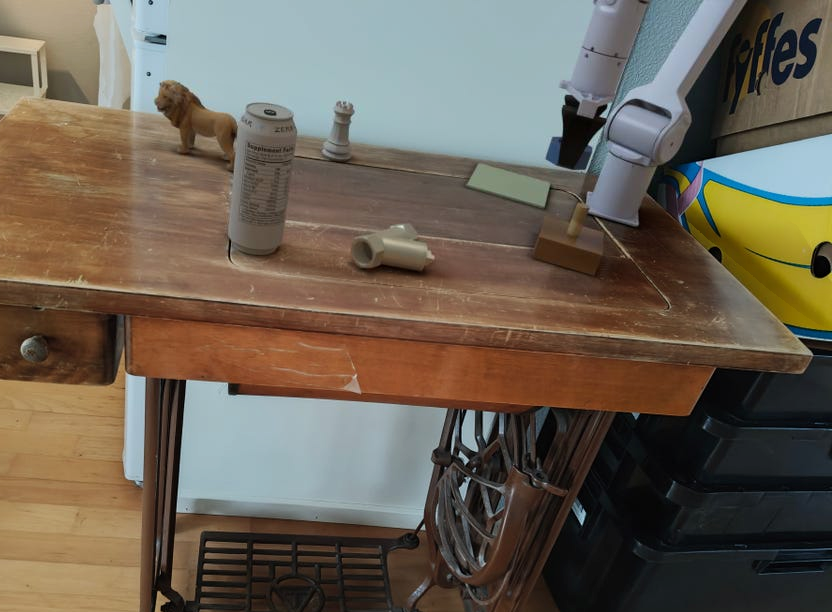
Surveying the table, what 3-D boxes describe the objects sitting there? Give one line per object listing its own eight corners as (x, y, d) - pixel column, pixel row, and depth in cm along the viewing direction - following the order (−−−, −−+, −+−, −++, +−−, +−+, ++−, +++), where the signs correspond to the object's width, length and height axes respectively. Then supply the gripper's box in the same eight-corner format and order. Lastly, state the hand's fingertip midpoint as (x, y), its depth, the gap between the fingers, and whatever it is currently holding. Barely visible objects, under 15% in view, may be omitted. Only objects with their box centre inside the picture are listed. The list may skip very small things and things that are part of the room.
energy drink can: (279, 235, 84) (296, 105, 76) (283, 259, 80) (302, 123, 71) (226, 230, 83) (238, 97, 75) (227, 254, 78) (240, 115, 70)
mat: (478, 165, 119) (478, 162, 119) (549, 185, 118) (550, 182, 117) (466, 187, 110) (466, 184, 109) (543, 209, 108) (544, 206, 108)
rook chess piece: (347, 164, 108) (357, 110, 104) (318, 157, 108) (327, 103, 104) (352, 155, 112) (362, 103, 108) (324, 148, 112) (332, 96, 108)
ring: (547, 151, 99) (553, 133, 98) (586, 162, 98) (592, 144, 97) (544, 162, 95) (550, 143, 93) (585, 173, 94) (592, 154, 92)
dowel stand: (537, 235, 99) (554, 186, 95) (595, 252, 98) (615, 204, 94) (531, 257, 92) (550, 206, 88) (594, 276, 91) (615, 225, 87)
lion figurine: (146, 147, 99) (148, 80, 94) (166, 138, 104) (168, 73, 99) (245, 176, 97) (252, 109, 92) (261, 165, 102) (268, 100, 97)
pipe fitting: (434, 273, 85) (391, 245, 87) (444, 244, 82) (400, 216, 85) (391, 290, 79) (347, 260, 82) (401, 260, 77) (355, 230, 80)
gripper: (574, 35, 95) (541, 137, 103) (570, 53, 83) (532, 166, 91) (628, 48, 94) (590, 150, 102) (631, 68, 82) (588, 181, 90)
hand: (566, 159), depth 96 cm, fingers closed on ring, 5 cm apart
